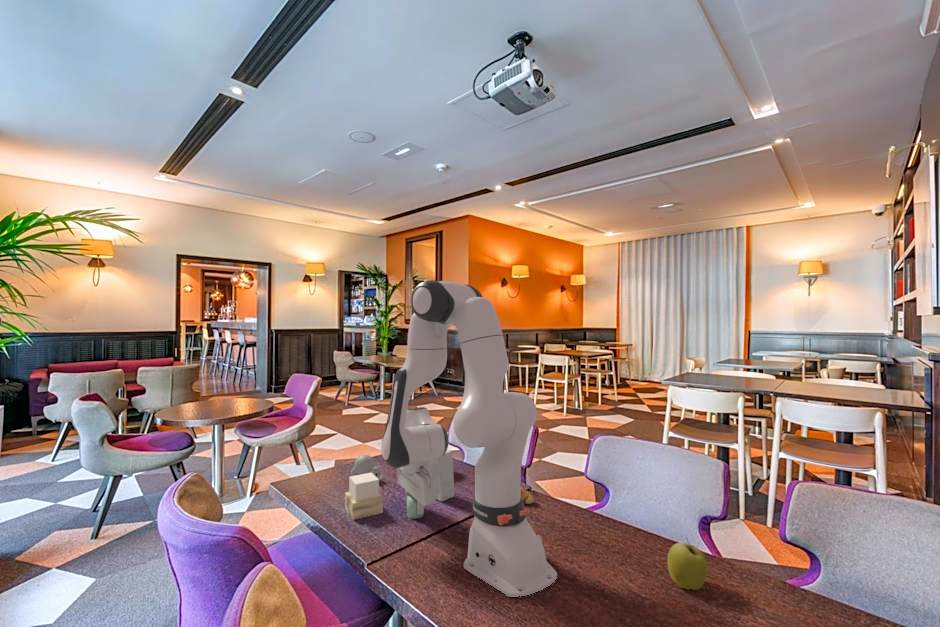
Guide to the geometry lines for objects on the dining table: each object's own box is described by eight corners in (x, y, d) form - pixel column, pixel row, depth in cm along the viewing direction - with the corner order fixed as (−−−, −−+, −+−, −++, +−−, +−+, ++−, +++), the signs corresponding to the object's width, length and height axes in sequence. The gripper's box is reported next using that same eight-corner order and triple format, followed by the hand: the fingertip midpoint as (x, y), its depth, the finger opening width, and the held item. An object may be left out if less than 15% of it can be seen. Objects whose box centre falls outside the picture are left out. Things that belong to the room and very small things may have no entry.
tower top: (379, 496, 125) (379, 479, 125) (355, 501, 122) (355, 484, 122) (371, 488, 131) (371, 472, 131) (349, 493, 128) (349, 476, 128)
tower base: (383, 513, 125) (383, 496, 125) (352, 521, 120) (352, 503, 120) (373, 502, 133) (373, 486, 133) (344, 509, 128) (344, 492, 128)
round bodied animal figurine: (370, 493, 145) (378, 472, 144) (346, 475, 150) (353, 454, 149) (383, 485, 152) (390, 465, 150) (359, 468, 157) (366, 448, 155)
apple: (654, 575, 92) (664, 529, 93) (679, 577, 95) (688, 532, 96) (686, 597, 85) (696, 546, 86) (712, 599, 88) (721, 550, 89)
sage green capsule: (426, 515, 123) (426, 498, 123) (410, 520, 120) (410, 502, 120) (419, 509, 127) (419, 492, 127) (404, 513, 124) (404, 496, 125)
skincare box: (454, 497, 136) (454, 451, 136) (440, 502, 132) (440, 455, 132) (438, 489, 142) (438, 445, 142) (424, 494, 138) (423, 449, 138)
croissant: (537, 513, 132) (542, 487, 135) (525, 509, 125) (531, 481, 128) (480, 496, 144) (486, 472, 147) (466, 491, 136) (473, 466, 139)
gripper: (440, 470, 117) (441, 520, 116) (411, 451, 134) (411, 494, 134) (420, 475, 113) (420, 526, 113) (392, 454, 131) (392, 499, 131)
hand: (415, 509), depth 124 cm, fingers closed on sage green capsule, 5 cm apart
